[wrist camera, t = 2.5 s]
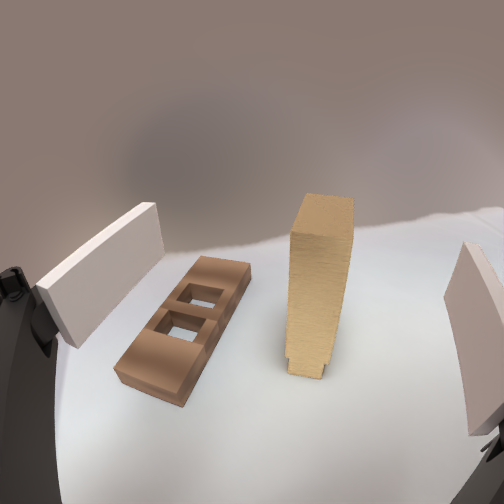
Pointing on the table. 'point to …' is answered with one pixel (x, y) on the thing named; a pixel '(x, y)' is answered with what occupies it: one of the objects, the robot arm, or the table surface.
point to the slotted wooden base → (188, 317)
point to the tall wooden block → (317, 280)
